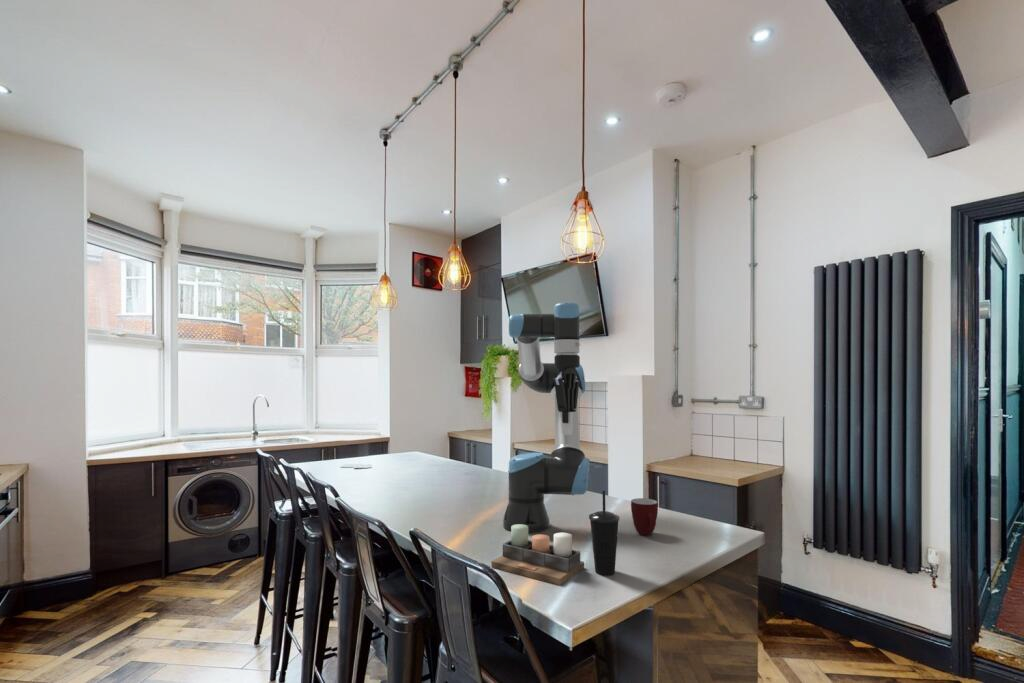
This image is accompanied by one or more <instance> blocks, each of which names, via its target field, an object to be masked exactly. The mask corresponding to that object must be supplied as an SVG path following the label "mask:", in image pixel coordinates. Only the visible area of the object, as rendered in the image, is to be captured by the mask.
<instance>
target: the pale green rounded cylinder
mask: <svg viewBox="0 0 1024 683" xmlns="http://www.w3.org/2000/svg"><path fill="white" fill-rule="evenodd" d="M510 540H511V546H515V547H520V548H524V547H526V546H528V540H529V533H528V526H527V525H523V524H516V525H512V526H511V531H510Z"/></svg>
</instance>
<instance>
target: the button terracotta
mask: <svg viewBox="0 0 1024 683" xmlns="http://www.w3.org/2000/svg"><path fill="white" fill-rule="evenodd" d="M531 541H532V550H533V551H537V552H542V553H546V552H547V551H549V550H550V545H551V544H550V536H549V535H547V534H540V533H539V534H535V535H534V534H533V535H532V536H531Z"/></svg>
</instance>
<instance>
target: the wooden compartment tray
mask: <svg viewBox="0 0 1024 683" xmlns="http://www.w3.org/2000/svg"><path fill="white" fill-rule="evenodd" d="M490 565H491V568H493V569H497V570H500V571H504V572H509V573H513V574H515V575H519V576H520V575H521V576H524V577H528V578H532V579H535V580H539V581H543V582H546V583H550V584H555V585H558V586H561V585H563V583H565V582H566V581H568V580H570V579H571V578H573V577H574V576H575V575H576V574H578V573H580V571H582V570H583V569H585V562H584V561H582V560H581V551H580V550H576V549H572V556H570V557H569V558H564V557H559V556H555V555H554V544H550V550H549V551H547V552H546V553H542V552H537V551H533V550H532V540H529V539H528V546H526V547H524V548H520V547H515V546H511V539H510V540H508V541H506V542H504V543H502V555H501V556H499V557H497V558H495V559H493V560H491V564H490Z"/></svg>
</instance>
